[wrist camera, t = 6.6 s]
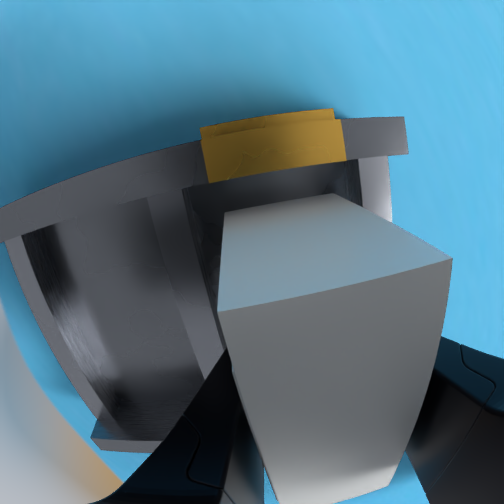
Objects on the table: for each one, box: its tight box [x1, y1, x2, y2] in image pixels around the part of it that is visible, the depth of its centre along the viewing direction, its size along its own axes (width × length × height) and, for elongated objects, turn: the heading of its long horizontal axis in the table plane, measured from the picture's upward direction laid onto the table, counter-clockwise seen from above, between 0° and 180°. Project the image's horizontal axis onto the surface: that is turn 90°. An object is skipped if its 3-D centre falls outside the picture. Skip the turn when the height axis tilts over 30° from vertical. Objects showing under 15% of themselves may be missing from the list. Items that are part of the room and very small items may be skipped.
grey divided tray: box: [0, 108, 408, 453], centre depth 9 cm, size 13×11×3 cm
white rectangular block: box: [217, 193, 453, 504], centre depth 7 cm, size 3×7×5 cm, turn 10°
